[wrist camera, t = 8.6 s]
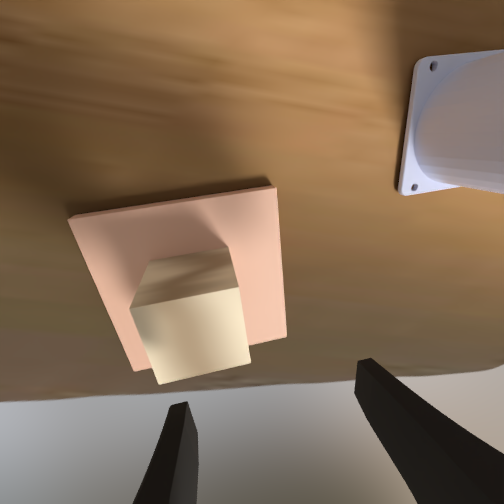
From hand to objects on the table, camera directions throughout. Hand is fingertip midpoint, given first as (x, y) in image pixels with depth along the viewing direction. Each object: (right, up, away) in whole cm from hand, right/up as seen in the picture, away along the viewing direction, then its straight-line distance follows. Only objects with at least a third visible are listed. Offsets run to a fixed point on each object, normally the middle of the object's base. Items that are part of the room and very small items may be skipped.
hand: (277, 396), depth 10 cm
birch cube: (-5, +4, +7) cm, 9 cm away
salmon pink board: (-5, +4, +8) cm, 10 cm away
